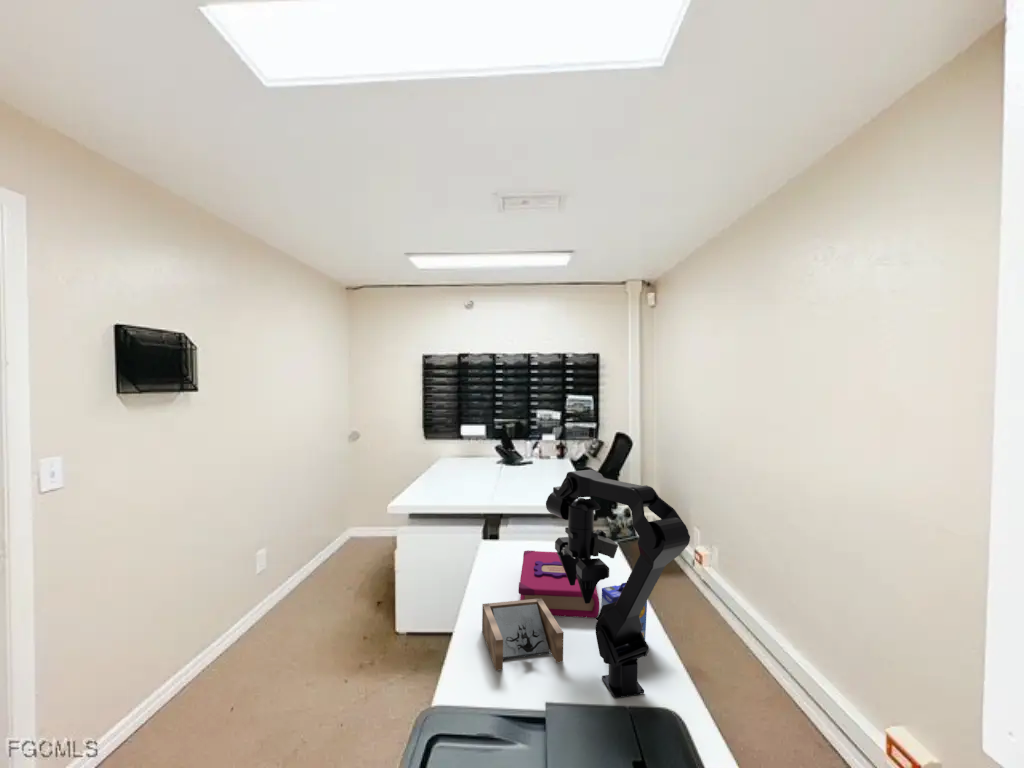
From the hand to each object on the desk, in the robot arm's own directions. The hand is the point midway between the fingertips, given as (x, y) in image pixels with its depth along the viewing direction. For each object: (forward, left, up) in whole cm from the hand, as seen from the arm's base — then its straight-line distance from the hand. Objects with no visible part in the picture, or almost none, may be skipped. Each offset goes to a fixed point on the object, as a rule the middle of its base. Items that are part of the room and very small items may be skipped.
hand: (579, 593), depth 112 cm
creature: (+2, +12, -11) cm, 17 cm away
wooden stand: (+4, +12, -13) cm, 19 cm away
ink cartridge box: (+2, -12, -13) cm, 18 cm away
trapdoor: (+5, +13, -10) cm, 17 cm away
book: (+29, -5, -14) cm, 32 cm away
